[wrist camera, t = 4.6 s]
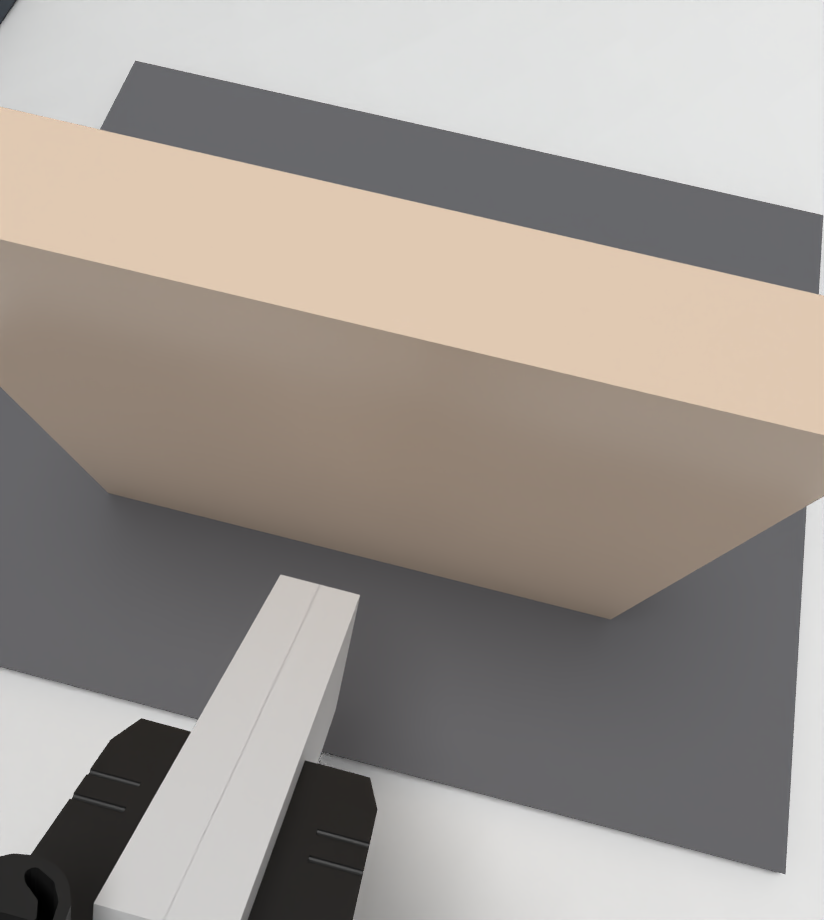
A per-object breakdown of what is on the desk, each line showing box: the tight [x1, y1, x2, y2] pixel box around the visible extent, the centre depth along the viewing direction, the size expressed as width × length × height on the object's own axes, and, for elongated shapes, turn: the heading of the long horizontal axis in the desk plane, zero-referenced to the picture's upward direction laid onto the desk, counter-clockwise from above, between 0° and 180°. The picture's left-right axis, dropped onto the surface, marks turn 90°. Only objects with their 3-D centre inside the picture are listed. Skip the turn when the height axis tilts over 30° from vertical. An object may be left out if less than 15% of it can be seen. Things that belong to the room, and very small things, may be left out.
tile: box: [0, 107, 824, 619], centre depth 15 cm, size 14×2×12 cm, turn 76°
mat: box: [0, 61, 823, 874], centre depth 23 cm, size 24×20×1 cm
